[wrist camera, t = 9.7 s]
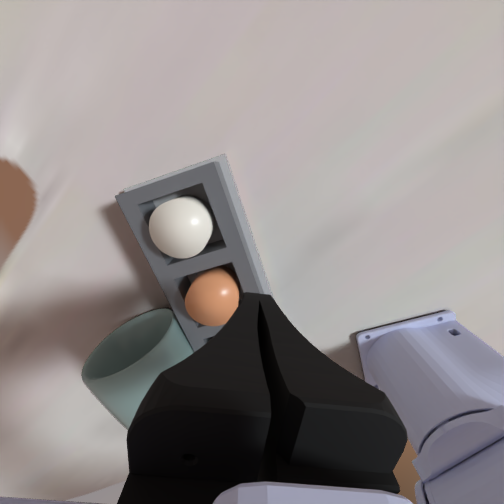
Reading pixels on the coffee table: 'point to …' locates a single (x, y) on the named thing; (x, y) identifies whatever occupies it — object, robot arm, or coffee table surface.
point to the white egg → (182, 226)
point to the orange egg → (213, 296)
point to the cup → (134, 361)
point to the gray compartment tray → (217, 248)
